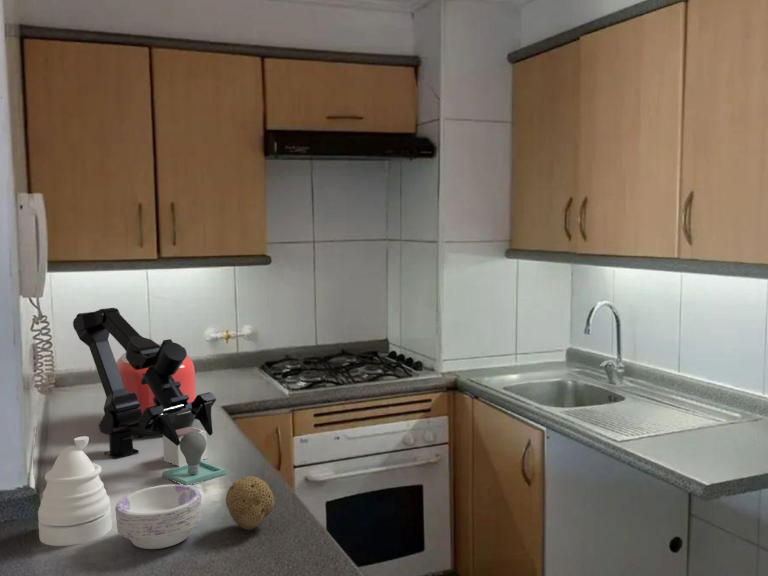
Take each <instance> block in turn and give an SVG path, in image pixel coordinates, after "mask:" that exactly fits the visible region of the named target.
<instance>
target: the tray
mask: <svg viewBox="0 0 768 576" xmlns="http://www.w3.org/2000/svg"><path fill="white" fill-rule="evenodd" d="M226 470H227V469H225V468H223V467H220V466H217V465H215V464H213V463H209V462H206V461H205V460H201V461H200V463H199V472H198V473H196V474H190V473H188V464H187V465H184V466H181V467H178V466H176V467H174V468H170V469H167V470H163V471H162V477H163V478H165V477H166V478H165V479H167V478H168V479H167V480H169V479H171V480H170V481H172V480H174V481H176V482H179V483H181V484H183V485H191V484H194V483H197V482H200V483H202V482H201V481H203V482H206V481H205V480H207V481H209V480H208V479H210V480H212V479H211V478H213V479H216V478H219V477H222V476H221V475H223V476H226V475H225V474H227V472H226ZM218 476H219V477H218ZM215 477H216V478H215ZM174 481H173V482H174ZM176 482H175V483H176ZM179 483H178V484H179ZM181 484H180V485H181ZM197 484H198V483H197ZM194 485H195V484H194ZM191 486H192V485H191Z"/></svg>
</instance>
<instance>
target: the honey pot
mask: <svg viewBox="0 0 768 576" xmlns="http://www.w3.org/2000/svg"><path fill="white" fill-rule="evenodd" d="M89 438H90V437H89V436H85V435H84V436H78V437H74V439H73V440H74V444H75V445H74V446H73V445H70V446H67V447H66V448H64V449H63V450H62V451H61V452H60V454H59V455H58V456H57V458H56V460H55V462H54V464H53V466H52V469H50V470H49V471H47V472H46V473H45V476H44V479H45V481H46V486H45V489H44V490H43V492H42V498H41V500H40V505H39V507H38V511H37V516H38V517H37V519H38V523H37V524H38V535H39V536H38V537H39V538H38V539H39V540H40V542H41V543H43V545H47V546H48V545H49V546H53V547H65V546H68V547H69V546H74V545H80V544H85V543H88V542H91V541H93V540H96V539H99V538H101V537H103V536H105V535H106V534H107V533H108V532H110V531H111V529H112V527H113V525H112V524H113V523H112V509H111V498H110V496H109V495H108V494H107V490H106V488H105V487H104V486H105V485H104V482H103V481H102V479H101V477H100V474H101V472H102V467H101V465H99V464H97V463H94V462H92V461H91V459H90V458H89V456H88V455H87V454H86V453H85V452H84V451H83V450H82V449H84V448H86V447H87V445H89Z"/></svg>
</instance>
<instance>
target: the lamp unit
mask: <svg viewBox="0 0 768 576" xmlns="http://www.w3.org/2000/svg"><path fill="white" fill-rule="evenodd" d="M175 431H176V433H177V435H178V438H179V441H181V439H182V437H183V436H184V435H185V434H186V433H188V432H193V431H195V432H199V433H201V434H202V435H203V436H204V438H205V440H206V448H205V451H204V453H203V454H202V456H201V461H204V460H203V459H205V460H208V459H207V458H208V443H207V442H208V441H207V439H208V438H207V432H206V430H203V429H200V428H197V427H194V426H191V427H186V428H182V429H178V430H175ZM162 445H163V447H162V448H163V459H164V460H163V461H164V462H165V461H166V462H165V463H168V462H169V463H168V464H170V463H172V464H171V465H173V464H175V465H177V466H176V467H178V466H181V465H186V464H187V462H186V458H185V456H184V455H183V453H182V452H181V449H180V444H179V445H178V446H177V445H175V444H174V443H173V442H172V441H170V440H169V439H168V438H167V437H165V436H164V435H162ZM175 465H174V466H175Z"/></svg>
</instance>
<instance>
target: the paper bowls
mask: <svg viewBox="0 0 768 576" xmlns="http://www.w3.org/2000/svg"><path fill="white" fill-rule="evenodd" d="M115 519H116V527H117V528H116V529H117V532H118V534H119V536H120V535H121V536H120V537H123V538H125V539H129V540H130V542H131V543H132V544H133V545H134V546H136V547H137V548H140V549H145V550H156V549H157V550H158V549H164V548H169V547H172V546H175V545H177V544H180V543H181V542H183V541H185V540H186V539H187V538H188V537H189V536H190V534H191V532H192V529H193V528H195V527H196V526H198V525H199V524H200V522H201V521H202V519H203V503H202V493H201V491H200V490H199V489H197V488H196V487H194V486H193V485H191V486H187V485H181V484H164V485H156V486H151V487H146V488H143V489H139V490H136V491H133V492H131V493H129V494H127V495H125V496H124V497H122V498H121V499H119V501H118V502H117V503H116V505H115Z"/></svg>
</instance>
